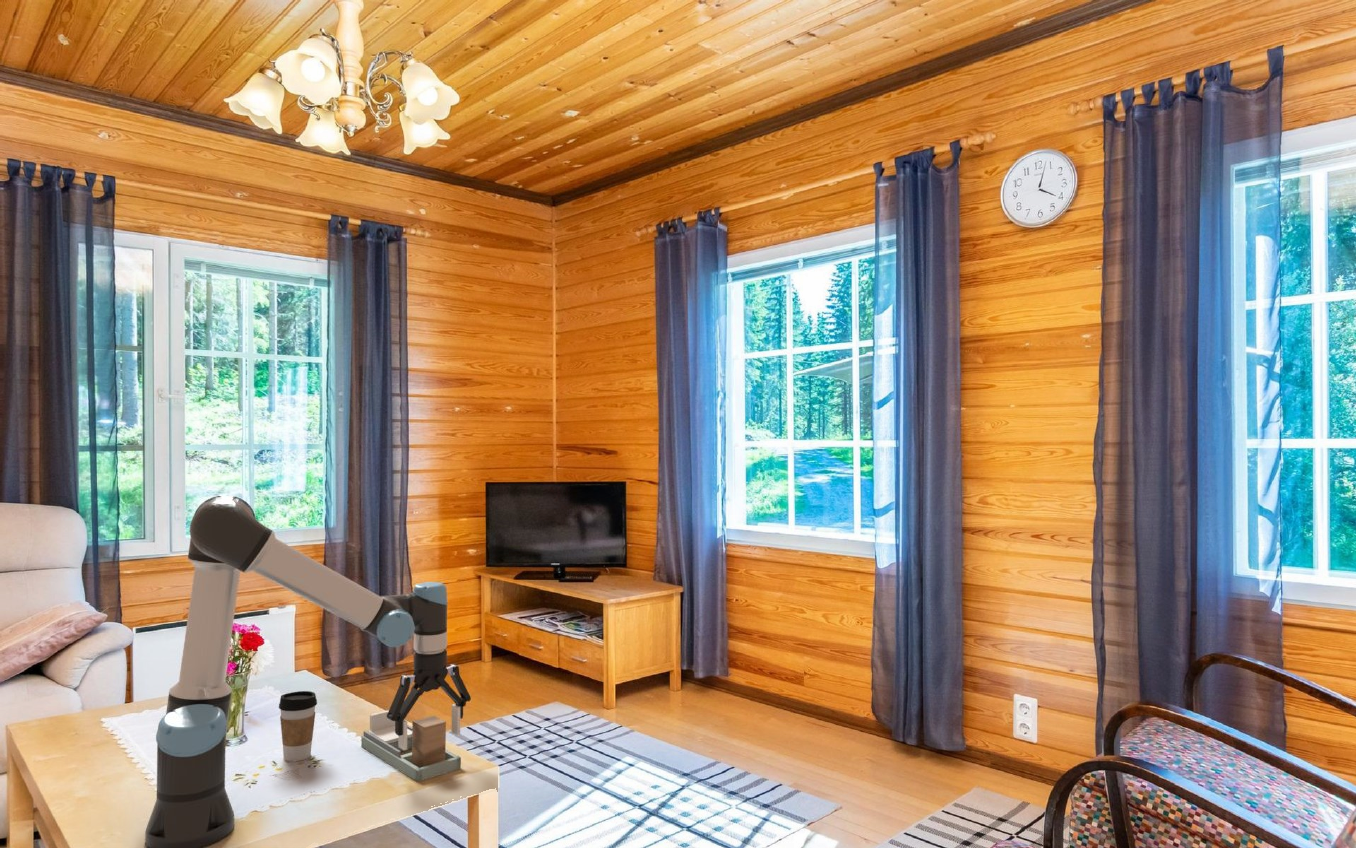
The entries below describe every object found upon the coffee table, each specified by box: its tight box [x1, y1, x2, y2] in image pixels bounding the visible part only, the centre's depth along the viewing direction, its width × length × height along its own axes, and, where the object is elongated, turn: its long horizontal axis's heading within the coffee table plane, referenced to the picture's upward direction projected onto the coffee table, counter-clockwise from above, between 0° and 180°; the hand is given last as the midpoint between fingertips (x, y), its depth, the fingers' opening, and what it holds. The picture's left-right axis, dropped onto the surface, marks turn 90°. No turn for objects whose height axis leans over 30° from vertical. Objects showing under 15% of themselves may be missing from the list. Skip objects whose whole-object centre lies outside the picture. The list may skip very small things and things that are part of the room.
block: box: [411, 715, 447, 768], centre depth 201 cm, size 6×6×11 cm
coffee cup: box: [278, 690, 318, 762], centre depth 207 cm, size 8×8×15 cm
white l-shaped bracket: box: [367, 709, 412, 744], centre depth 214 cm, size 9×8×5 cm
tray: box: [360, 724, 462, 782], centre depth 208 cm, size 28×11×4 cm, turn 45°
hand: (429, 740), depth 201 cm, fingers open, 13 cm apart
